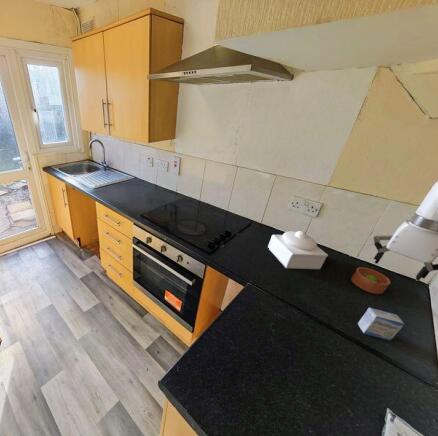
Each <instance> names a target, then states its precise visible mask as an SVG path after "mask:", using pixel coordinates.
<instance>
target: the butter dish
mask: <svg viewBox="0 0 438 436" xmlns="http://www.w3.org/2000/svg"><path fill="white" fill-rule="evenodd" d="M268 242H269V243H268V245H267V249H268V248H269V249H268V250H269V251H270V252H271V253H272V255H274V257H276V259H277V260H278V261H279V262H280V263H281V264H282V265H283V267H284V268H285V269H296V270H297V269H299V270H300V269H301V270H302V269H304V270H321V268H322V266H323V264H324V263H325V261H326V259H327V257H329V254H328V253H326V251H324V250H323V249H321V248H320V247H319V246H318V243H317V241H316V240H315V239H314V238H313V237H311V236H310V235H308V234H307V233H306V232H305V231H304V230H298V231H295V230H294V231H293V230H292V231H291V230H290V231H285V232H284V233H283V234H272V235H271V238H270V240H269V241H268Z"/></svg>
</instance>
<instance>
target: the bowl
mask: <svg viewBox="0 0 438 436" xmlns="http://www.w3.org/2000/svg"><path fill="white" fill-rule="evenodd" d="M365 275H372V276H374V277H376V278H377V280H378V283H377V282H374V281H372V280H369V279H367V278H366V277H364V276H365ZM350 280H351V282H352V283H353V284H354V285H355V286H356V287H358V288H359V289H360V290H363V291H365V292H368V293H370V294H374V295H382V294H384V293H385V291H386V290H387V289H388V288H389V286H390V285H391V280H390V279H389V278H388V277H387V276H386V275H384V274H383V273H381V272H379V271H377V270H375V269H372V268H369V267H363V266H361V267H360V266H359V267H357V268H356V270H355V271H354V273H353V274H352V276H351V277H350Z"/></svg>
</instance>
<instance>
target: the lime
mask: <svg viewBox="0 0 438 436" xmlns="http://www.w3.org/2000/svg"><path fill="white" fill-rule="evenodd" d="M364 277H366V278H367V279H369V280H372V281H374V282H377V283H378V280H377V278H376V277H374V276H372V275H365V276H364Z"/></svg>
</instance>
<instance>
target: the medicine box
mask: <svg viewBox="0 0 438 436" xmlns="http://www.w3.org/2000/svg"><path fill="white" fill-rule="evenodd" d="M357 325H358V327H359V328H360V330H361V331H362V333H363V335H367V336H370V337H375V338H378V339H382V340H386V341H389V342H390V341H392V340H393V339H394V337H395V336H396V335H397V334H398V333H399V332H400V330H401V329H402V328H403V327H404V326H405V323H404V322H403V320H402V319H401V318H400V317H399V315H397V314H396V313H392V312H388V311H384V310H380V309H377V308H372V307H368V308H367V310H366V311H365V313H364V314H363V315H362V317H361V318H360V320H359V321H358V322H357Z"/></svg>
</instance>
